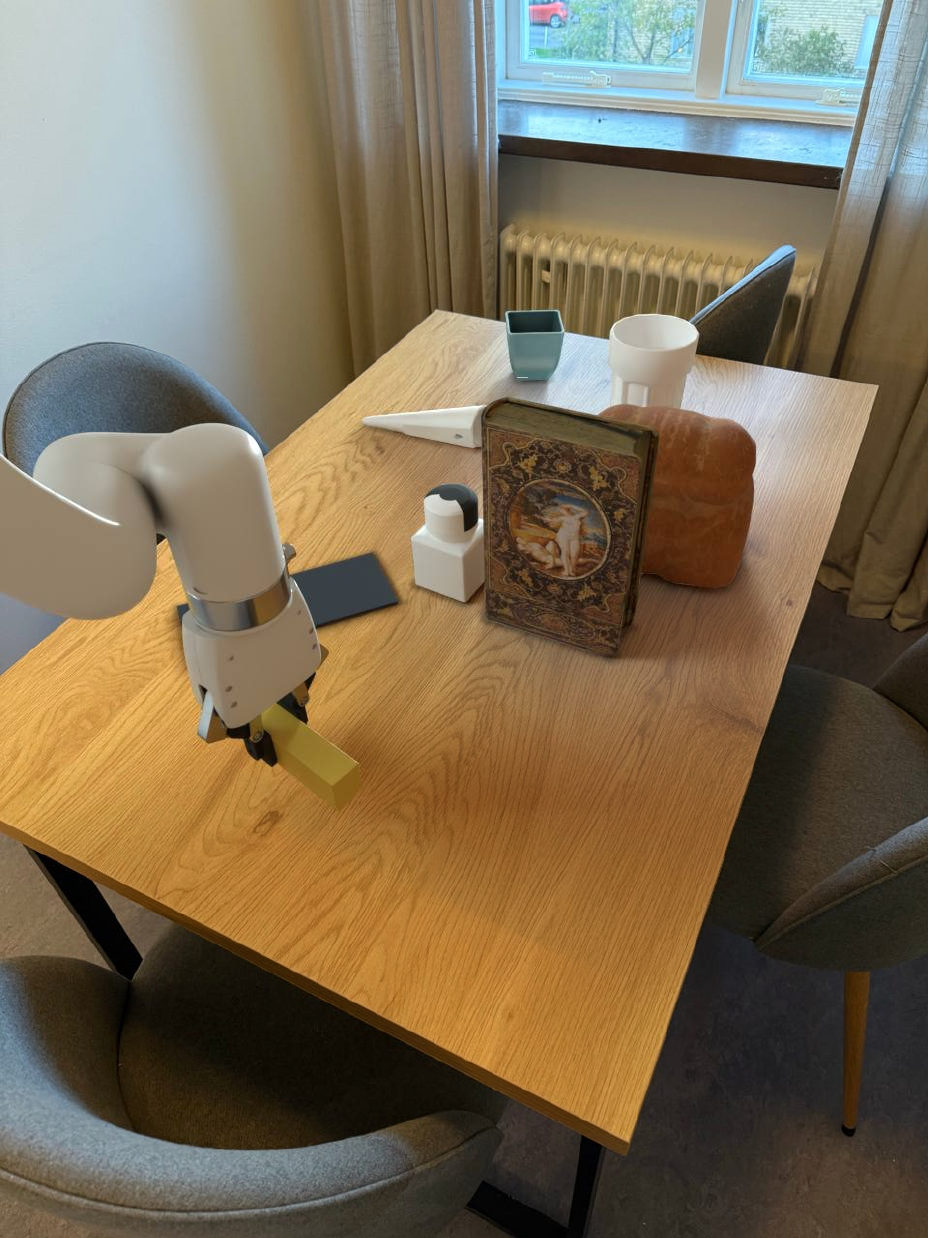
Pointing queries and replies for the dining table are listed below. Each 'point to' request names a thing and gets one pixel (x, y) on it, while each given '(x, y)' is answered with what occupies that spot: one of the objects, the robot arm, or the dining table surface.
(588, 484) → the book
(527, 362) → the flower pot
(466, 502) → the medicine bottle
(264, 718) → the yellow disc-ended bar
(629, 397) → the cup
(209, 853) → the dining table surface
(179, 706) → the dining table surface
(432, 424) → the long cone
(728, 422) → the bread
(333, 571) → the mat
